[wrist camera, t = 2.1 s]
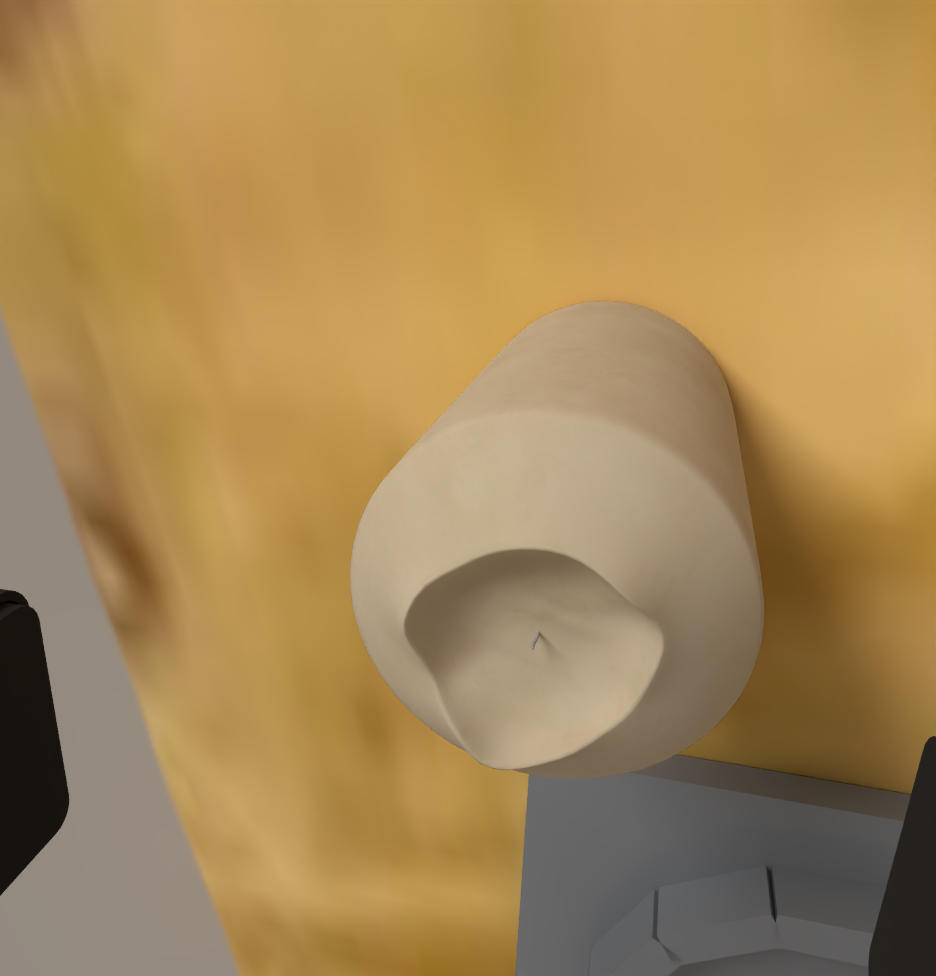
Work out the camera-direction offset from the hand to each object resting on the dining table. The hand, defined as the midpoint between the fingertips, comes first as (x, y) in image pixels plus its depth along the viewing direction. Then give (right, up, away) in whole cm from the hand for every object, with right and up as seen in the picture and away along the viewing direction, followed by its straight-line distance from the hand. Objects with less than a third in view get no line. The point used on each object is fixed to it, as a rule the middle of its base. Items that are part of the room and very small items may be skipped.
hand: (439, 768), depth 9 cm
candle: (+3, +5, +10) cm, 12 cm away
